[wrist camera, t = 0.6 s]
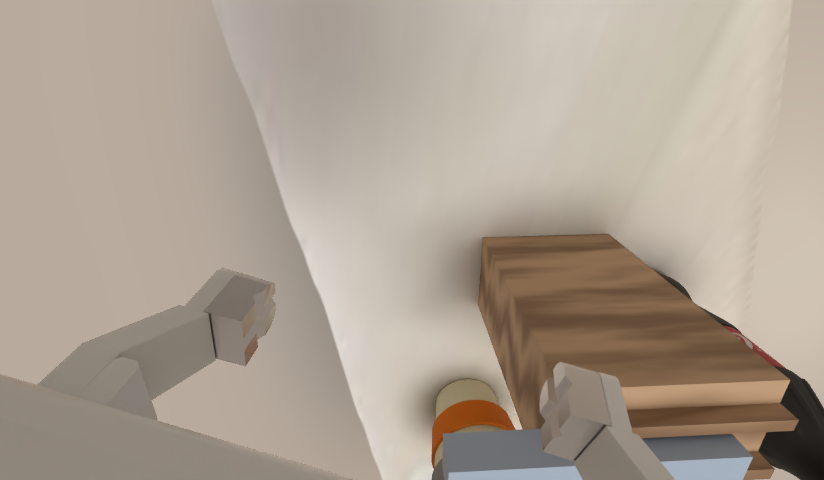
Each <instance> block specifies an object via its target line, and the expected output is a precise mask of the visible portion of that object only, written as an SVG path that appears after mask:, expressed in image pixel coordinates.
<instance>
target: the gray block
mask: <svg viewBox="0 0 824 480" xmlns="http://www.w3.org/2000/svg"><path fill="white" fill-rule="evenodd" d="M641 439H642V440H643V441H644V442H645V443H646V445H647V446H648V447H649V448H650V449H651V451H652V452H653V453H654V454H655V456H656V457H657V458H658V459H659V460H660V462H661V463H662V464H663V465H664V467H665V468H666V469H667V470H668V471H669V473H670V474H671V475H672V476H673V478H674V479H675V480H743V478H744V476H745V474H746V472H747V469H748V467H749V465H750V463H751V461H752V458H753V456H752V455H751V454H750V453H749V452H748V451H747V450H746V449H745V447H744V446H743V445H742V444H741V443H740V442H739V441H738V440H737V439H736V438H735V436H734V435H733V434H717V435H697V436H676V437H656V438H641ZM442 466H443V474H444V480H583V479H582V477H581V476H580V474H579V472H578V470H577V468H576V467H575V465H574V461H571V460H568V459H565V458H562V457H559V456H555V455H552V454H549V453H546V452H543V448H542V435H541V429H527V430H506V431H485V432H464V433H443V453H442Z"/></svg>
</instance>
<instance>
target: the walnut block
mask: <svg viewBox="0 0 824 480" xmlns="http://www.w3.org/2000/svg"><path fill="white" fill-rule="evenodd" d="M478 306H479V309H480V312H481V314H482V317H483V320H484V323H485V326H486V328H487V331H488V334H489V337H490V340H491V342H492V345H493V348H494V351H495V353H496V356H497V359H498V362H499V365H500V367H501V370H502V373H503V376H504V378H505V381H506V384H507V387H508V390H509V392H510V395H511V398H512V401H513V403H514V406H515V409H516V412H517V415H518V417H519V420H520V423H521V426H522V428H523V430H527V429H541V427H542V426H543V424H544V423H545V419H544V418H543V416H542V415H541V413H540V395H541V391H542V388H543V386H544V384H545V382H546V380H547V379H549V378H552V377H554V373H553V369H554V368H555V366H556V365H557V364H558V363H559V362H563V363H567V364H571V365H575V366H579V367H582V368H586V369H590V370H594V371H596V372H601V373H604V374H608V375H612V376H615V377H617V379H618V380H619V383H620V386H621V390H622V394H623V398H624V401H625V405H626V409H627V413H628V417H629V420H630V424H631V428H632V432H633V433H634V434H637V435H639V436H640V437H641V438H656V437H676V436H697V435H717V434H733V435H734V436H735V438H736V439H737V440H738V441H739V442H740V443H741V444H742V445H743V446H744V447H745V449H746V450H747V451H748V452H749V453H750V454H751V455H752V456H753V458H752V461H751V463H750V465H749V467H748V469H747V472H746V474H745V476H744V478H743V480H753V479H770V478H771V476H772V474H773V472H774V468H773V467H772V466H771V465H770V464H769V462H768V461H767V460H766V459H765V458H764V457H763V456H762V455H761V454H760V453H759V452H758V450H759V448H760V446H761V443H762V441H763V439H764V437H765V435H766V432H778V431H794V429H795V427H796V425H797V423H798V421H799V419H797V418H796V417H795V416H794V415H793V414H792V413H791V412H789V411H788V410H787V409H786V408H785V407H784V406H783V405H782V404H780V402H781V400H782V398H783V395H784V393H785V391H786V389H787V387H788V384H789V382H790V379H789V378H787V377H786V376H785V375H784V374H782V373H781V372H780V371H779V370H777V369H776V368H775V367H774V366H772V365H771V364H770V363H769V362H767V361H766V360H765V359H764V358H762V357H761V356H760V355H759V354H757V353H756V352H755V351H754V350H752V349H751V348H750V347H749V346H747V345H746V344H745V343H744V342H743V341H741V340H740V339H739V338H738V337H736V336H735V335H734V334H733V333H731V332H730V331H729V330H728V329H726V328H725V327H724V326H723V325H721V324H720V323H719V322H718V321H716V320H715V319H714V318H713V317H711V316H710V315H709V314H708V313H706V312H705V311H704V310H703V309H701V308H700V307H699V306H698V305H696V304H695V303H694V302H693V301H691V300H690V299H689V298H688V297H686V296H685V295H684V294H683V293H681V292H680V291H679V290H678V289H676V288H675V287H674V286H673V285H671V284H670V283H669V282H668V281H666V280H665V279H664V278H663V277H661V276H660V275H659V274H658V273H656V272H655V271H654V270H653V269H651V268H650V267H649V266H648V265H646V264H645V263H644V262H643V261H641V260H640V259H639V258H638V257H636V256H635V255H634V254H633V253H632V252H630V251H629V250H628V249H627V248H625V247H624V246H623V245H622V244H620V243H619V242H618V241H617V240H615V239H614V238H613V237H612V236H610V235H609V234H591V235H555V236H519V237H483V243H482V258H481V274H480V289H479V304H478Z"/></svg>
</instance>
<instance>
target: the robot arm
mask: <svg viewBox="0 0 824 480" xmlns="http://www.w3.org/2000/svg"><path fill="white" fill-rule="evenodd" d="M274 294H275V284H274V283H272V282H269V281H266V280H263V279H259V278H256V277H253V276H249V275H246V274H243V273H239V272H235V271H232V270H229V269H225V268H222V269H219V270H218V271H216V272H215V274H214V275H213V276H212V277H211V278H210V279H209V280H208V281H207V282H206V283H205V284H204V285H203V287H202V288H201V289H200V290H199V291H198V292H197V293H196V294H195V295H194V296H193V297H192V299H191V300H190V301H189V302H188V303H187V304H186V305H185V306H180V305H178V306H176V307H173V308H171V309H168V310H166V311H163V312H161V313H158V314H156V315H153V316H151V317H148V318H145V319H143V320H140V321H138V322H135V323H133V324H130V325H128V326H125V327H123V328H120V329H118V330H115V331H112V332H110V333H108V334H105V335H102V336H100V337H97V338H95V339H92V340H90V341H87V342H85V343H82V344H81V345H80V346H79V347H78V348H77V349H76V350H75V351H74V352H72V353H71V354H70V355H69V356H68V357H67V358H66V359H65V360H64V361H63V362H61V363H60V364H59V365H58V366H57V367H56V368H55V369H54V370H53V371H52V372H51V373H49V375H47V376H46V377H45V378H44V379H43V380H42V381H41V382H40V383H39V384H38V385H36V384H32V383H29V382H25V381H22V380H19V379H15V378H12V377H8V376H5V375H2V374H0V480H356V479H352V478H349V477H346V476H342V475H339V474H336V473H332V472H329V471H325V470H322V469H318V468H315V467H312V466H309V465H305V464H302V463H298V462H295V461H292V460H288V459H285V458H281V457H278V456H274V455H271V454H268V453H265V452H261V451H258V450H255V449H251V448H248V447H244V446H241V445H238V444H234V443H231V442H228V441H224V440H221V439H217V438H214V437H211V436H207V435H204V434H201V433H197V432H194V431H190V430H187V429H184V428H180V427H177V426H173V425H170V424H167V423H163V422H160V421H157V416H156V413H155V410H154V407H153V404H152V401H151V400H153V399H154V398H156V397H157V396H159V395H161V394H162V393H164V392H165V391H167V390H169V389H170V388H172V387H173V386H175V385H177V384H178V383H180V382H182V381H183V380H185V379H186V378H188V377H190V376H191V375H193V374H194V373H196V372H198V371H199V370H201V369H203V368H204V367H206V366H207V365H209V364H211V363H212V362H213V361H215V360H216V359H220V360H224V361H228V362H232V363H235V364H239V365H243V366H246V365H247V363H248V362H249V360H250V358H251V357H252V355H253V354H254V352H255V351H256V349H257V347H258V345H257V344H258V343H257V339H258V338H260V337H262V336H264V335H266V333H267V331H268V330H269V328H270V326H271V324H272V321H273V319H274V315H275V309H276V308H275V302H274V301H273V300H272V297H273V295H274ZM553 373H554V377H552V378H549V379H547V380H546V382H545V384H544V386H543V388H542V391H541V395H540V413H541V415H542V416H543V418H544V419H545V423H544V424H543V426H542V427H541V435H542V448H543V452H546V453H549V454H552V455H555V456H559V457H562V458H565V459H568V460H571V461H574V465H575V467H576V468H577V470H578V472H579V474H580V476H581V477H582V479H583V480H675V479H674V478H673V476H672V475H671V474H670V473H669V471H668V470H667V469H666V468H665V467H664V465H663V464H662V463H661V462H660V460H659V459H658V458H657V457H656V456H655V454H654V453H653V452H652V451H651V449H650V448H649V447H648V446H647V445H646V443H645V442H644V441H643V440H642V439H641V437H640V436H639V435H637V434H634V433H633V432H632V428H631V424H630V420H629V417H628V413H627V409H626V405H625V401H624V398H623V394H622V390H621V386H620V383H619V380H618V379H617V377H615V376H612V375H608V374H604V373H601V372H596V371H594V370H590V369H586V368H582V367H579V366H575V365H571V364H567V363H563V362H559V363H558V364H557V365H556V366H555V368H554V369H553Z"/></svg>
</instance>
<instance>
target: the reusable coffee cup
mask: <svg viewBox="0 0 824 480" xmlns="http://www.w3.org/2000/svg"><path fill="white" fill-rule="evenodd" d="M506 430H515V428H514V426H513V424H512V422H511V420H510V418H509V416H508V414H507V413H506V412H505V410H504V409H502V408H501V407H500V405H499V403H498V401H497V399H496V397H495V395H494V393H493V391H492V389H491V388H490V387H489V386H488V385H487V384H485V383H484V382H482V381H479V380H474V379H462V380H458V381H455V382H452V383H450V384H449V385H447V386H446V387H444V388H443V389H442V390H441V392H440V393H439V395H438V397H437V400H436V421H435V422H434V425H433V432H432V465H433V468H434V471H433V474H432V480H444V474H443V466H442V453H443V433H464V432H485V431H506Z"/></svg>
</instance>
